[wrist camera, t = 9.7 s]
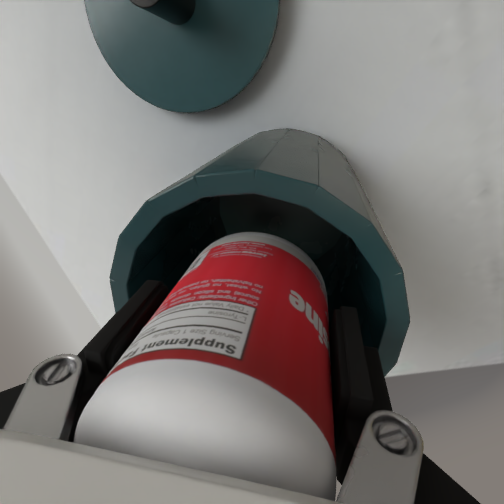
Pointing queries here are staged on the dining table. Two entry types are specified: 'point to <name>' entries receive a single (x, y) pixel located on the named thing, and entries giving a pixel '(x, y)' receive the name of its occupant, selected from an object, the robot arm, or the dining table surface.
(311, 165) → the teal faceted cylinder
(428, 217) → the dining table surface
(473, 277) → the dining table surface
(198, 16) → the pot lid
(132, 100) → the dining table surface
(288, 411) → the pill bottle
